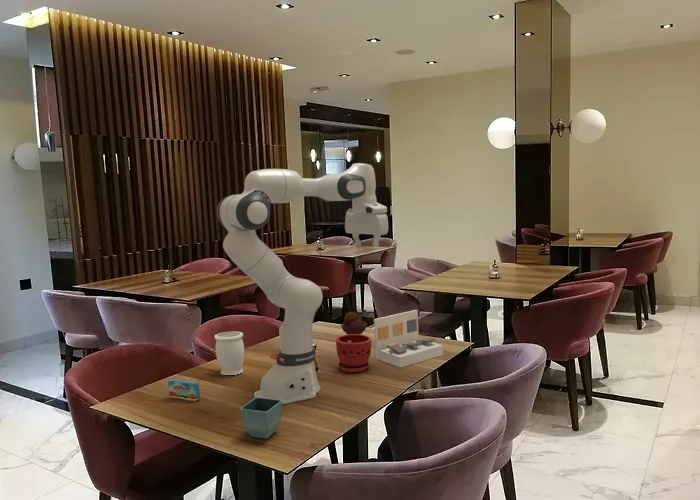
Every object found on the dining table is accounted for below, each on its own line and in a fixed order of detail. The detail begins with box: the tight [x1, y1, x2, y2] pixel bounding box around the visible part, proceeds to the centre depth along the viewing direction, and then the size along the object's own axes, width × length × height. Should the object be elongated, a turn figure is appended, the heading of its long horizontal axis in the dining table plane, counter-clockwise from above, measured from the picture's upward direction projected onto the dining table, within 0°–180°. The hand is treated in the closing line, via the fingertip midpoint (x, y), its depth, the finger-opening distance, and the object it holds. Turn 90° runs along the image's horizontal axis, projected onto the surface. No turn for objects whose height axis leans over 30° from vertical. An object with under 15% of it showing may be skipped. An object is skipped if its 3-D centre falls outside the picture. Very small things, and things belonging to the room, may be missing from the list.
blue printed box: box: [167, 378, 201, 399], centre depth 187 cm, size 12×2×6 cm, turn 65°
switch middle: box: [402, 342, 421, 347], centre depth 218 cm, size 4×7×1 cm, turn 35°
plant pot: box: [335, 334, 372, 373], centre depth 209 cm, size 13×13×12 cm
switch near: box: [387, 343, 407, 354], centre depth 214 cm, size 4×7×1 cm, turn 35°
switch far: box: [416, 337, 436, 343], centre depth 223 cm, size 4×7×1 cm, turn 35°
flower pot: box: [240, 397, 283, 440], centre depth 156 cm, size 9×9×9 cm
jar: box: [214, 330, 245, 376], centre depth 211 cm, size 11×10×15 cm
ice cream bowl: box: [340, 311, 368, 343], centre depth 239 cm, size 11×11×15 cm
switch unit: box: [373, 309, 444, 369], centre depth 219 cm, size 22×15×16 cm
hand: (366, 246), depth 203 cm, fingers open, 8 cm apart
